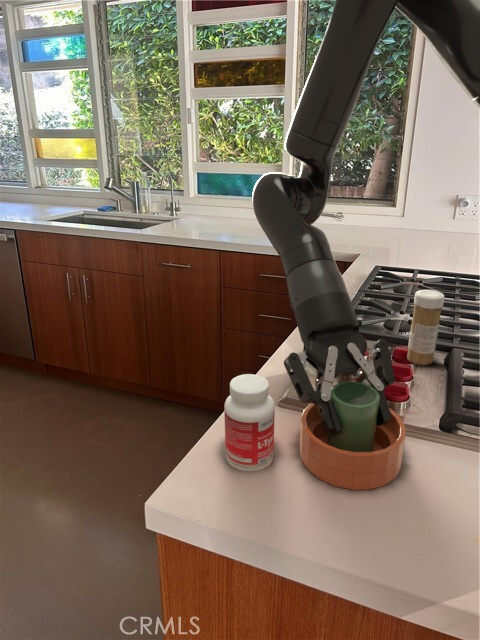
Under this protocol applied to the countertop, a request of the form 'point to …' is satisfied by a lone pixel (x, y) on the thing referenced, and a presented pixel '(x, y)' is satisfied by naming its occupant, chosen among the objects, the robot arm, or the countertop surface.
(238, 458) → the pill bottle
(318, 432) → the terracotta bowl
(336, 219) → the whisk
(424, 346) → the sprinkles bottle
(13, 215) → the countertop surface
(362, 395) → the green cup
